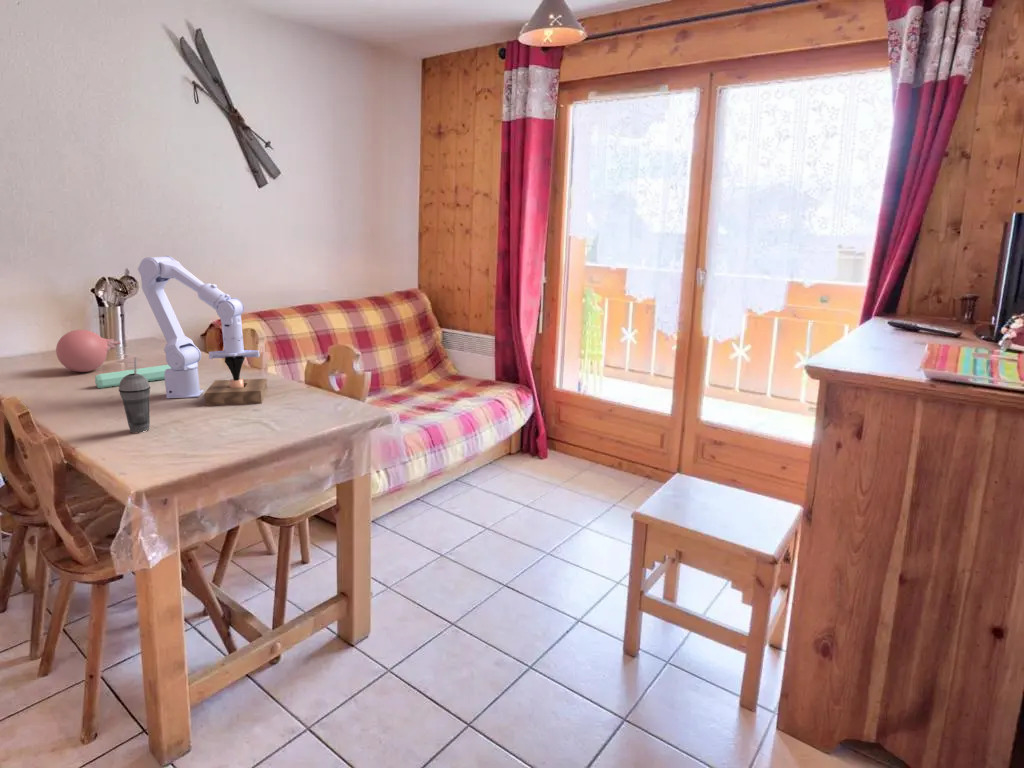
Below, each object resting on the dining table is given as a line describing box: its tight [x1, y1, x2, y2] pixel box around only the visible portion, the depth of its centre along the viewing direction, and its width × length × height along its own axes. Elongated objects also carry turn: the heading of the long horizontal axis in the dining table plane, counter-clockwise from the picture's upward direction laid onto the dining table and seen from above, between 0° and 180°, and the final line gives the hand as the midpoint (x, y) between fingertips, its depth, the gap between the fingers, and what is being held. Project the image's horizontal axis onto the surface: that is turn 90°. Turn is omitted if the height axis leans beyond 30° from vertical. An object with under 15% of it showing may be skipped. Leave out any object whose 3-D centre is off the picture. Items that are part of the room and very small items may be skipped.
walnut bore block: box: [204, 378, 269, 407], centre depth 204 cm, size 16×16×4 cm
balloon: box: [55, 329, 121, 373], centre depth 233 cm, size 15×20×15 cm
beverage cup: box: [118, 357, 151, 433], centre depth 169 cm, size 7×7×20 cm
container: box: [94, 364, 171, 389], centre depth 220 cm, size 6×6×25 cm
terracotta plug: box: [229, 378, 244, 388], centre depth 204 cm, size 4×4×6 cm
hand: (236, 380), depth 203 cm, fingers closed, pressing on terracotta plug
